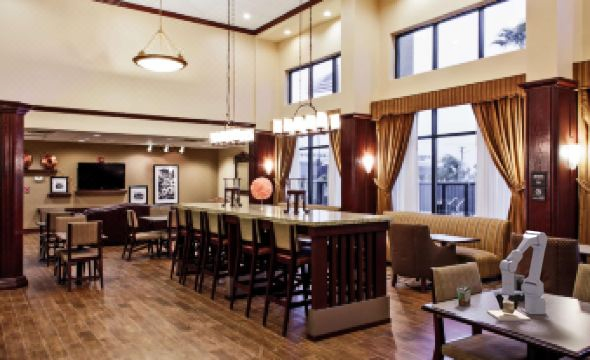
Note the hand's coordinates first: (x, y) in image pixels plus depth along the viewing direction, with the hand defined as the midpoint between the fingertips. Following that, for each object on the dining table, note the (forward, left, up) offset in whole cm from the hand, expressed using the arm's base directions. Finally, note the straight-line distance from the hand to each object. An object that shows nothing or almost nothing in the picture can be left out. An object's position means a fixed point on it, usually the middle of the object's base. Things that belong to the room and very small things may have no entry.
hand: (508, 308), depth 227 cm
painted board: (0, 0, -4) cm, 4 cm away
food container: (+15, -23, -4) cm, 28 cm away
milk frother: (-26, -31, -4) cm, 41 cm away
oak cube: (0, 0, -2) cm, 2 cm away
